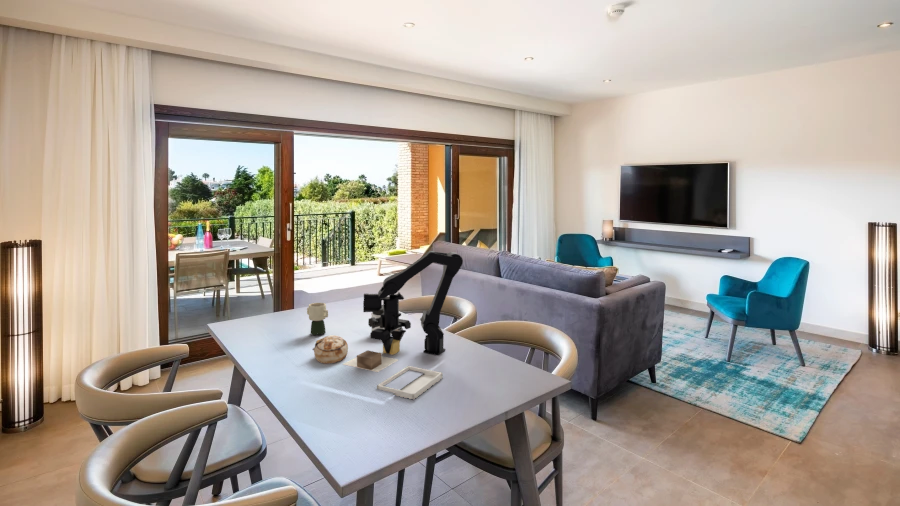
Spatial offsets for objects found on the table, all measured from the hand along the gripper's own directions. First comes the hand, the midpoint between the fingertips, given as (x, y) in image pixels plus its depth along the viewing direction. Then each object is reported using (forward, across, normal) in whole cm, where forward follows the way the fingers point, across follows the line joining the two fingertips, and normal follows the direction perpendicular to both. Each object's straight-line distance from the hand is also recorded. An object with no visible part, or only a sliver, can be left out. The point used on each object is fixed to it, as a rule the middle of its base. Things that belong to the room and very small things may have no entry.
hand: (391, 351), depth 173 cm
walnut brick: (0, +15, +1) cm, 15 cm away
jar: (+1, -18, -17) cm, 25 cm away
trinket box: (+1, +14, -17) cm, 22 cm away
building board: (+1, +12, 0) cm, 12 cm away
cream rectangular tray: (+1, +20, +21) cm, 29 cm away
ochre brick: (+1, 0, 0) cm, 1 cm away
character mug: (+1, -5, -41) cm, 41 cm away
